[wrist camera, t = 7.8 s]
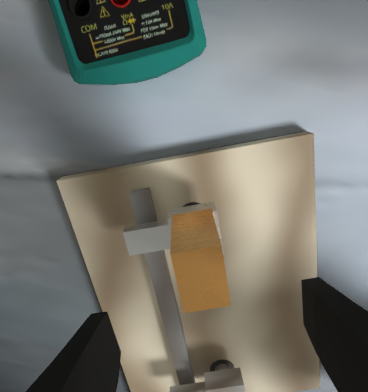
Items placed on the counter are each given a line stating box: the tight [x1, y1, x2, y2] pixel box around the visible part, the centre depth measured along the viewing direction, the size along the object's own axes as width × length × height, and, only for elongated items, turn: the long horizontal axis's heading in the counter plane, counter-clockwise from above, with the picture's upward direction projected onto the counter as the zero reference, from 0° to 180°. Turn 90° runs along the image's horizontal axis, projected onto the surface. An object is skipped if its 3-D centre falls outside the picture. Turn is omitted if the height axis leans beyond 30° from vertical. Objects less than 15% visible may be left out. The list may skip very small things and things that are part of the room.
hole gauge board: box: [57, 131, 320, 392], centre depth 21 cm, size 16×22×4 cm
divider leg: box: [123, 202, 231, 313], centre depth 16 cm, size 6×3×7 cm, turn 100°
